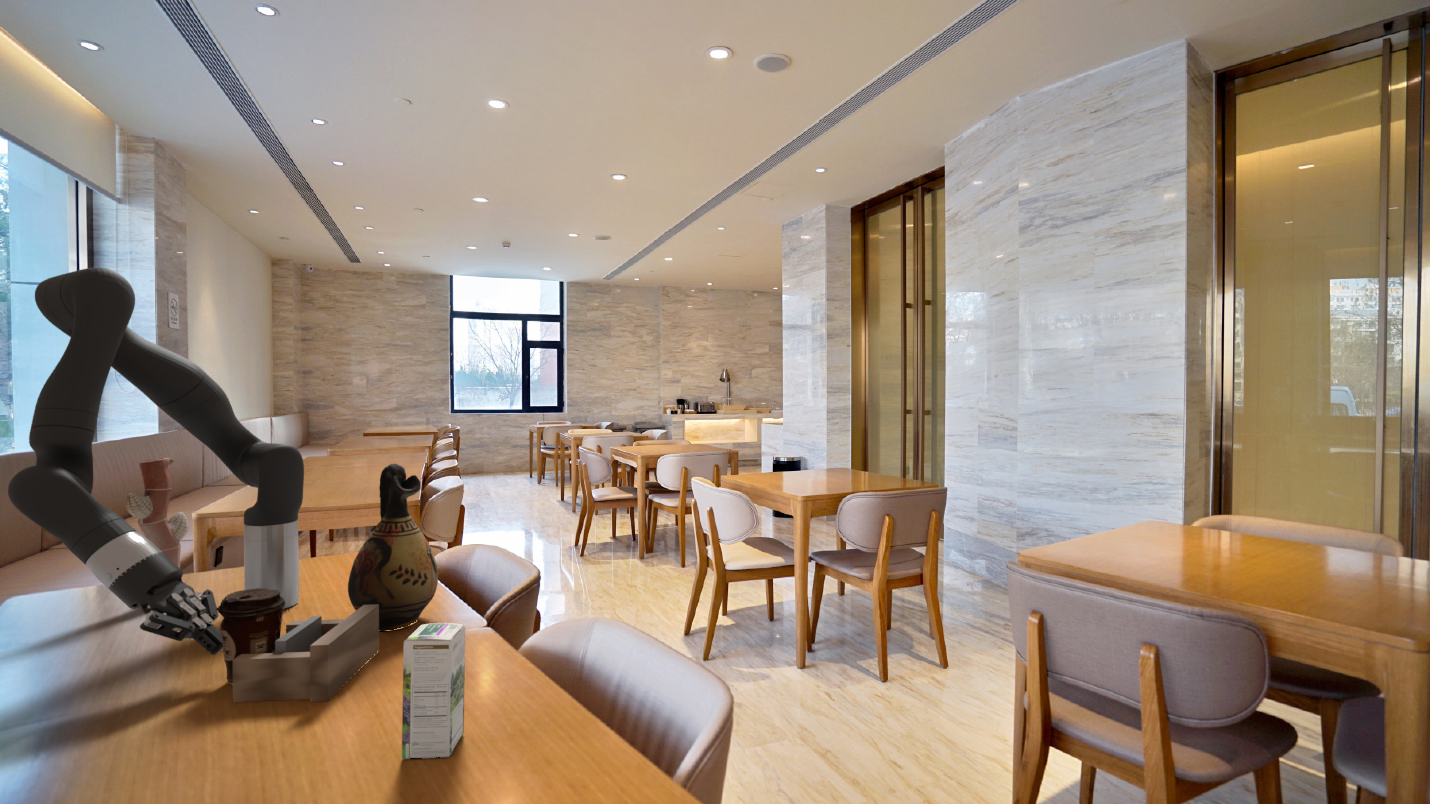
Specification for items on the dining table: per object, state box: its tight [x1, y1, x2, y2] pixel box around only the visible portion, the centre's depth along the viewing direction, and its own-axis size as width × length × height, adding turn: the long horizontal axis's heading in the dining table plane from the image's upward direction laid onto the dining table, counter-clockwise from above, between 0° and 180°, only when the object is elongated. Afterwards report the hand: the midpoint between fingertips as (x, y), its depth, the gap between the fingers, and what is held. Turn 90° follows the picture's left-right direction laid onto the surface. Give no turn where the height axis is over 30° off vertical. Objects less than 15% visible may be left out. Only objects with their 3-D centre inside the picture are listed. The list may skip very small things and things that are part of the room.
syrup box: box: [401, 622, 466, 760], centre depth 82 cm, size 6×6×14 cm
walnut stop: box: [232, 604, 380, 703], centre depth 102 cm, size 13×18×8 cm
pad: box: [275, 615, 323, 653], centre depth 102 cm, size 1×11×7 cm, turn 6°
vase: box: [125, 457, 189, 584], centre depth 136 cm, size 11×7×30 cm
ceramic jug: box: [347, 463, 439, 630], centre depth 126 cm, size 17×15×30 cm
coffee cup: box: [216, 588, 286, 686], centre depth 101 cm, size 9×8×13 cm
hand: (222, 648), depth 100 cm, fingers closed
